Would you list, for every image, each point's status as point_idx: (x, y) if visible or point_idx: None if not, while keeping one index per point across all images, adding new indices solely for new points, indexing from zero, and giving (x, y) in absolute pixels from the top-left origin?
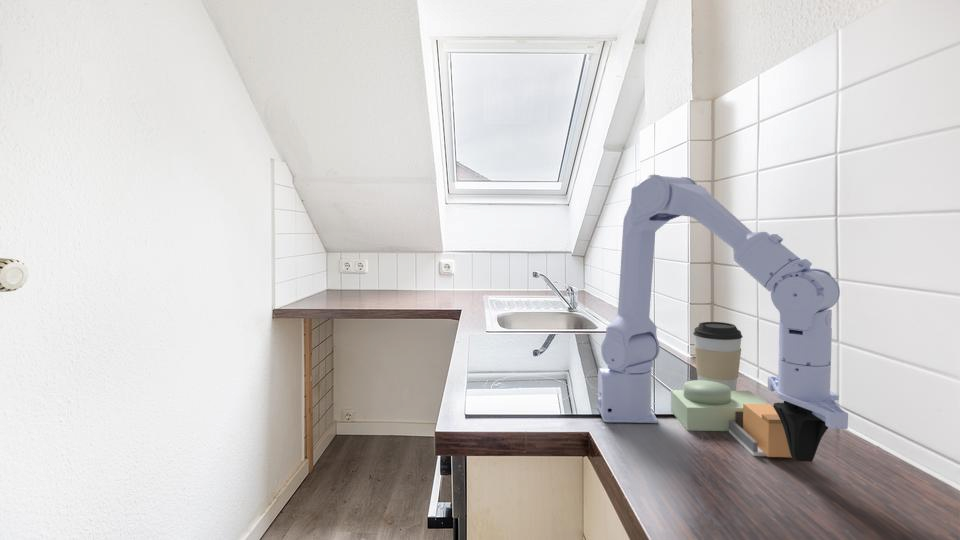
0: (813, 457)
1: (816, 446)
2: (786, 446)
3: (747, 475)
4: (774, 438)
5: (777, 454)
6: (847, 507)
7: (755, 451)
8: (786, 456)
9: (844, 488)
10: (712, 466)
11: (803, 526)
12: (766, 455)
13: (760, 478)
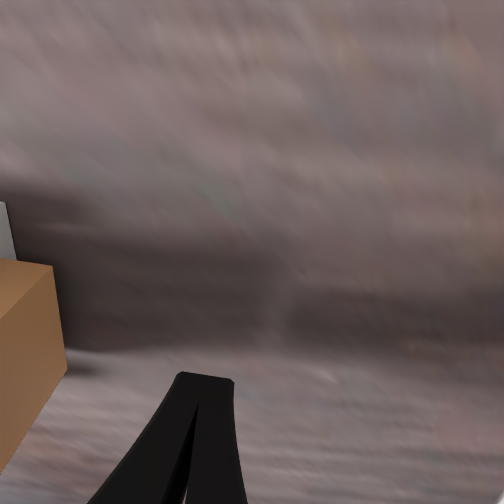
0: (231, 396)
1: (240, 469)
2: (25, 346)
3: None
4: (12, 430)
5: (56, 347)
6: (451, 327)
7: None
8: (55, 309)
9: (322, 232)
10: None
11: (484, 487)
12: None
13: None
